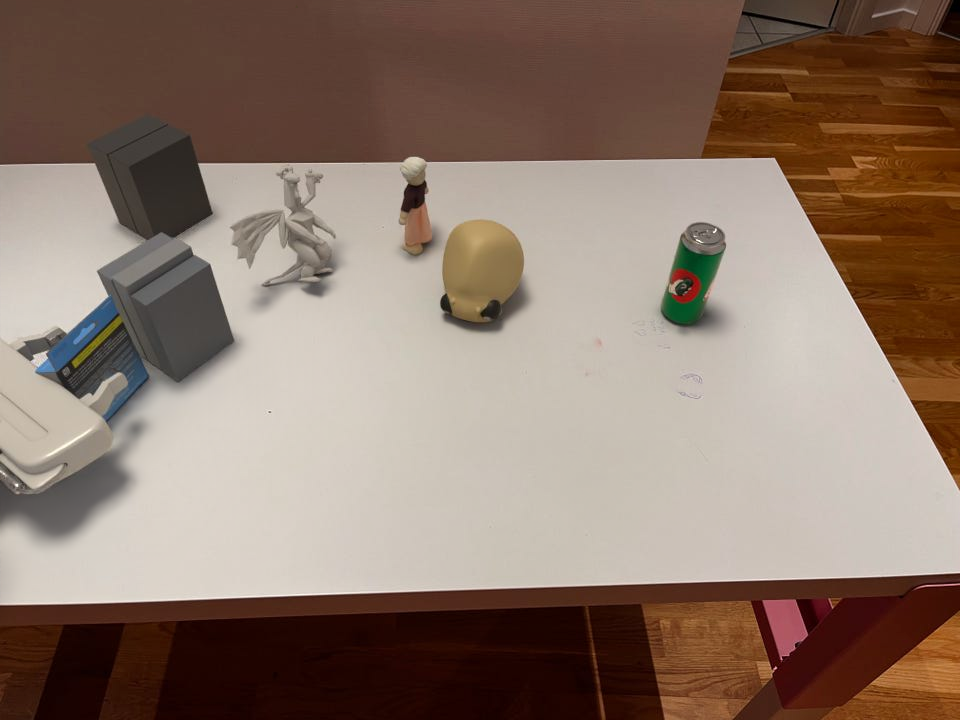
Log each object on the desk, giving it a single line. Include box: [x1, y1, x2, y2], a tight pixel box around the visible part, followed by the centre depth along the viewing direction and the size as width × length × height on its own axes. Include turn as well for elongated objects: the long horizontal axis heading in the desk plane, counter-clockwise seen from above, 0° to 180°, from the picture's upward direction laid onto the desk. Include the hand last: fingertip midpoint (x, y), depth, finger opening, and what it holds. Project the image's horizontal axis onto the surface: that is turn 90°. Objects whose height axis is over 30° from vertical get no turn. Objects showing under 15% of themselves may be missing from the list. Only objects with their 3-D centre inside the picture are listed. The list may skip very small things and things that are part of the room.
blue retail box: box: [35, 295, 150, 422], centre depth 74 cm, size 9×4×12 cm, turn 159°
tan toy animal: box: [439, 219, 525, 323], centre depth 88 cm, size 10×12×11 cm
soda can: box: [660, 221, 727, 325], centre depth 86 cm, size 5×5×12 cm
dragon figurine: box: [228, 163, 337, 286], centre depth 90 cm, size 10×18×14 cm, turn 168°
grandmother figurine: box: [398, 156, 433, 256], centre depth 94 cm, size 8×4×13 cm, turn 171°
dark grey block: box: [86, 113, 214, 241], centre depth 96 cm, size 8×9×12 cm
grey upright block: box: [96, 232, 235, 383], centre depth 80 cm, size 8×8×12 cm
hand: (92, 353), depth 74 cm, fingers open, 8 cm apart
